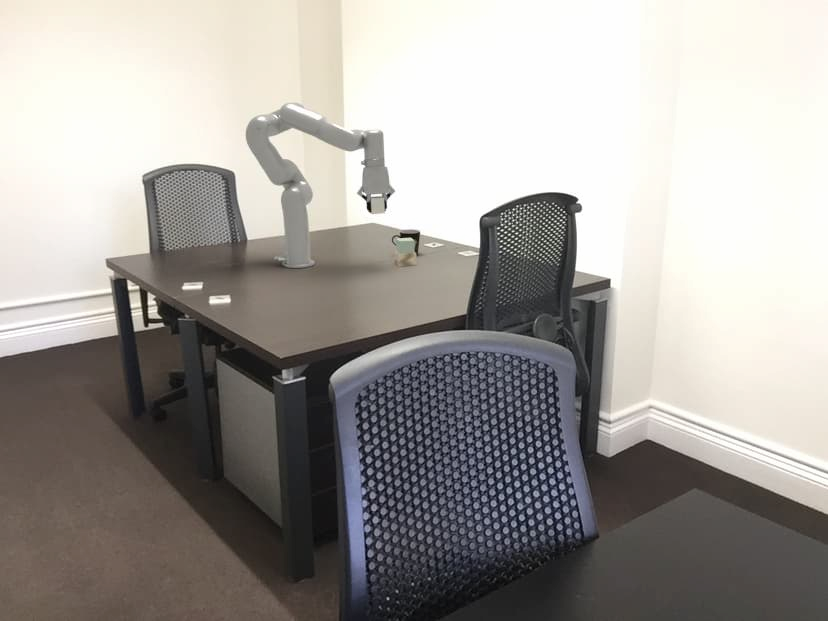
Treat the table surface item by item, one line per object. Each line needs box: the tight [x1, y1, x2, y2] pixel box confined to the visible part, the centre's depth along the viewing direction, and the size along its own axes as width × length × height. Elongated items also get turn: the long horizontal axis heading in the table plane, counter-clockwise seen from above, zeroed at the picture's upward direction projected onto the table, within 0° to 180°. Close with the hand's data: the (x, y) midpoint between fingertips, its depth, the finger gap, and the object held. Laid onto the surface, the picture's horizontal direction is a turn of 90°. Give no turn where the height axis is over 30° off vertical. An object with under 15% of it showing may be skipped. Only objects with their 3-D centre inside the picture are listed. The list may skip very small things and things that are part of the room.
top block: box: [369, 195, 386, 215], centre depth 280 cm, size 5×5×6 cm
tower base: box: [394, 250, 417, 267], centre depth 290 cm, size 7×7×5 cm
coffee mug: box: [391, 228, 421, 257], centre depth 305 cm, size 12×9×10 cm
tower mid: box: [395, 237, 415, 254], centre depth 289 cm, size 6×6×5 cm
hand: (377, 210), depth 281 cm, fingers closed on top block, 4 cm apart
